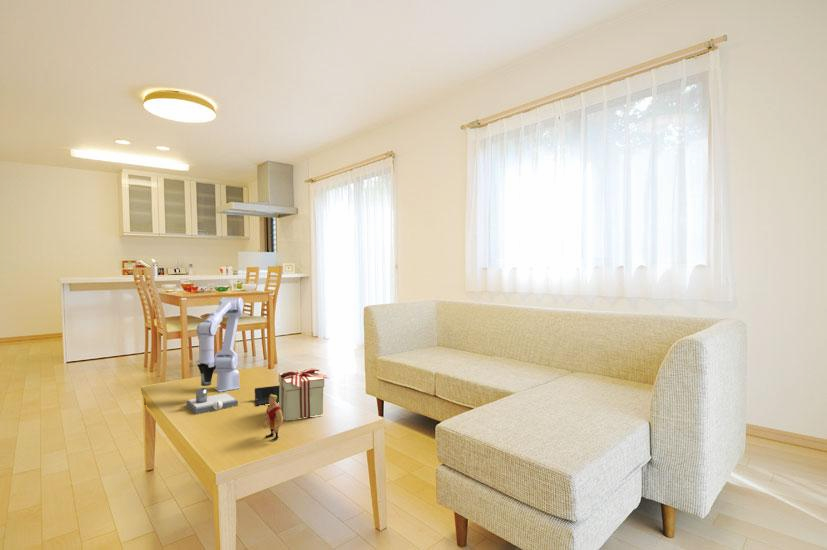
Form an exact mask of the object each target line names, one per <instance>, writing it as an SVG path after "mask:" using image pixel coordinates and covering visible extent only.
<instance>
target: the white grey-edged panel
mask: <svg viewBox="0 0 827 550" xmlns="http://www.w3.org/2000/svg"><path fill="white" fill-rule="evenodd" d="M236 405H238V406H239V401H238V400H237V399H236V398H235V397H234V396H232V395H231V394H229V393H227V392H225V393H224V392H223V393H219V394H214V395H209V396H208V395H207V402H204V403H196V398H191V399H188V400H186V407H188V409H189V410H191V411H192V413H194V414H195V415H199V413H200V414H203V413H204V412H205V413H209V412H208V411H210V412H213V410H215V411H219V410H223V409H222V408H224V409H228V408H227V407H229V408H233V407H232V406H234V407H237V406H236ZM205 413H204V414H205Z"/></svg>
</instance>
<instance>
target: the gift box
mask: <svg viewBox="0 0 827 550" xmlns="http://www.w3.org/2000/svg"><path fill="white" fill-rule="evenodd" d="M318 372H320V369H318V368H315V367H313V368H312V367H311V368H310V369H304V370H302V371H294V370H293V371H288V372H287V371H286V372H283V373H279V374H278V382H279V386H280V387H279V404H278V406H279V407H280V408H281V412H282V416H283V419H284V418H285V419H284V421H285V420H286V421H285V422H288V421H287V420H293V419H298V418H304V417H310V416H315V415H321V414H323V415H324V387H325V379H329V377H328V376H327V375H324V374H320V373H318ZM293 421H294V420H293Z"/></svg>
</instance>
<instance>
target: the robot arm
mask: <svg viewBox="0 0 827 550" xmlns="http://www.w3.org/2000/svg"><path fill="white" fill-rule="evenodd" d="M218 305H219V306H218V308H217V309H216V310H215V311H214V312H211V313H210V314H209V315H208V316H207V317H206V318H205V320H204V322H200V323H198V324H197V326H196V335H197V340H198V341H199V343H198V344H199V347H198V350H199V351H198V352H199V356H198V359H199V360H195V363H197V368H198V370H199V373H200V374H201V373H204V379H205V382H206V383H207V382H211V383H212V378H213V375H214V372H216V386H215V387H214V388H213V389H215V390H216V391H217V392H219V393H221V392H227V391H232V390H238V389H240V372H239V369H238V368H237V367H238V363H239V360H238V358H239V355H238V353H237V352H236V351H235V350H234V346H235V341H236V336H237V331H238V330H237V329H238V325H239V319H240V317H241V316H242V315H243V313H244V307H245V306H244V305H245V304H244V299H243V298H242V297H224V296H223V297H221V298H220V299H219V303H218ZM223 316H226V318H227V320H226V321H227V322H226V327H225V330H224V335H223V342H222V346H221V349H220V350H219V351H216V353H215V335H216V334H217V331H218V327H219V325H220V324H221V323H222V321H223Z"/></svg>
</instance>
